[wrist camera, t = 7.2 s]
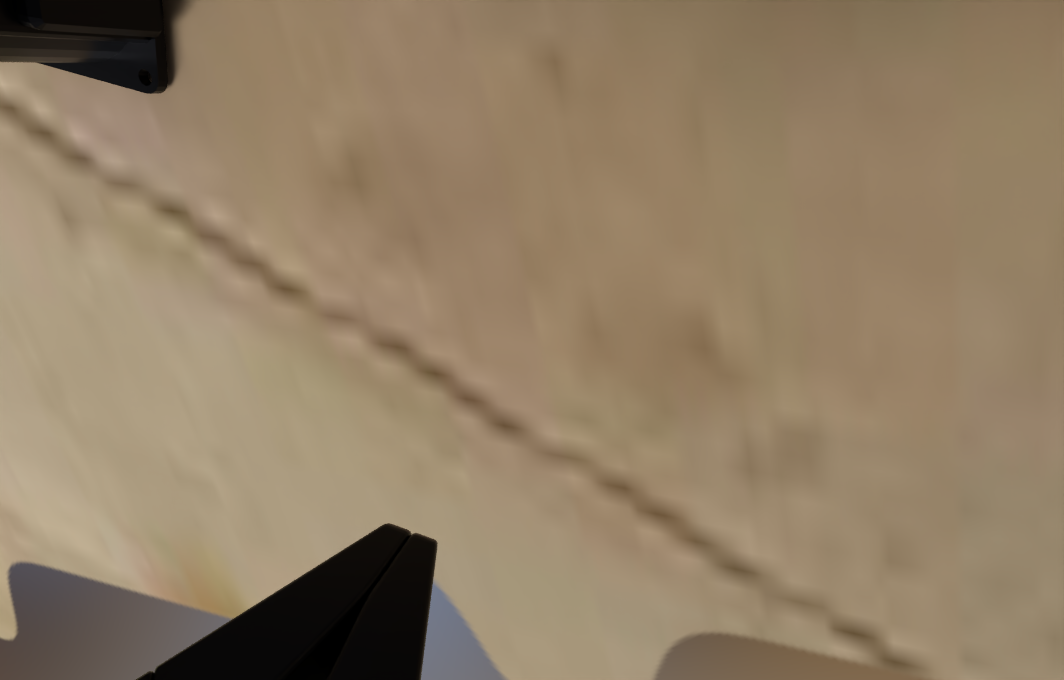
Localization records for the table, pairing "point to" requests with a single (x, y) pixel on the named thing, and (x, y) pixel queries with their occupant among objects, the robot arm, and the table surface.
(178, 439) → the table surface
